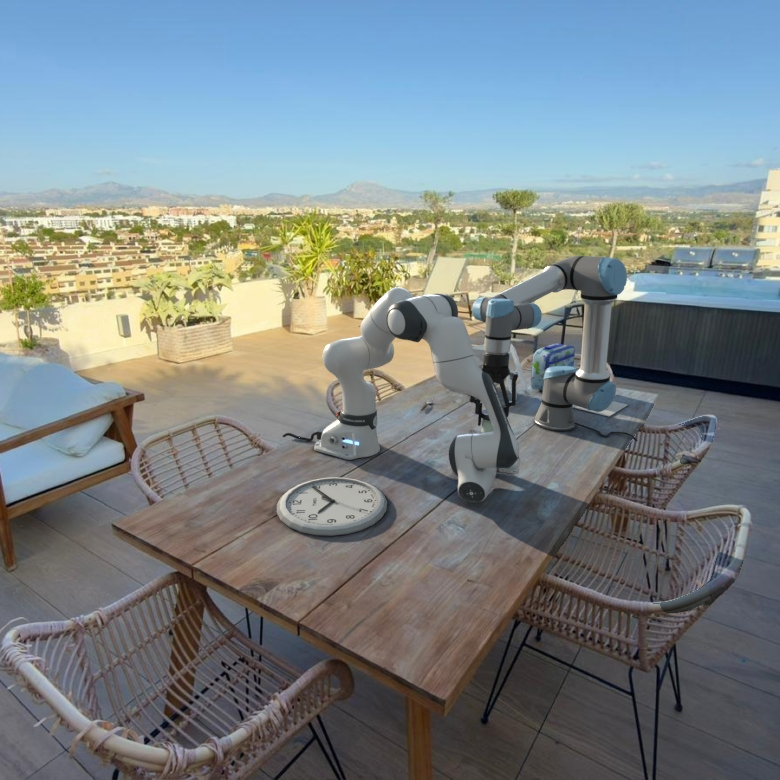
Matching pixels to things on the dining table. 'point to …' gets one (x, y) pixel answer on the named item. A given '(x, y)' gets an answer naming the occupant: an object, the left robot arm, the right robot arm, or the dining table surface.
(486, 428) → the bottle
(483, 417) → the lid
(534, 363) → the lunch box
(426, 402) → the fork
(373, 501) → the wall clock
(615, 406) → the invitation card
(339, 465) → the dining table surface
